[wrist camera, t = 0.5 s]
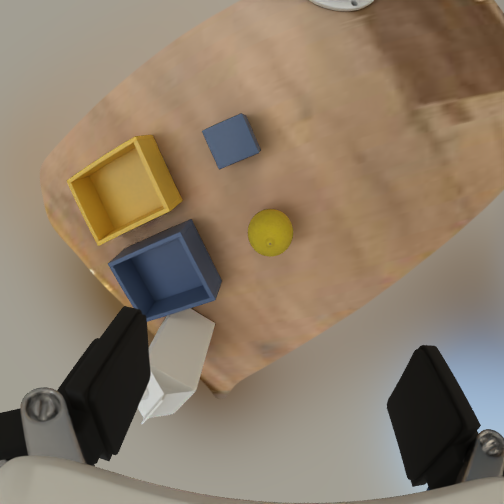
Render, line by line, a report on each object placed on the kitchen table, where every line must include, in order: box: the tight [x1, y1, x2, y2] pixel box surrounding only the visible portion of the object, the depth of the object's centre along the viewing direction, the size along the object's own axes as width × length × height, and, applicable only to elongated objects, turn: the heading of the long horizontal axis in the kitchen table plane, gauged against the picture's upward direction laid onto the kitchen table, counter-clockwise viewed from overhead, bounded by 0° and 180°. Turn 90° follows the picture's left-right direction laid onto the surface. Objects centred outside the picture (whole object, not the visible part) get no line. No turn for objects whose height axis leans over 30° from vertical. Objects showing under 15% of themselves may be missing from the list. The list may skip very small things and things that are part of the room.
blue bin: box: [108, 219, 222, 322], centre depth 43 cm, size 10×12×6 cm
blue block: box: [202, 113, 261, 169], centre depth 36 cm, size 5×5×5 cm
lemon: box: [248, 209, 293, 256], centre depth 39 cm, size 6×6×8 cm
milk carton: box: [138, 308, 215, 424], centre depth 41 cm, size 7×7×19 cm
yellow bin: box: [67, 135, 183, 246], centre depth 39 cm, size 10×12×6 cm
